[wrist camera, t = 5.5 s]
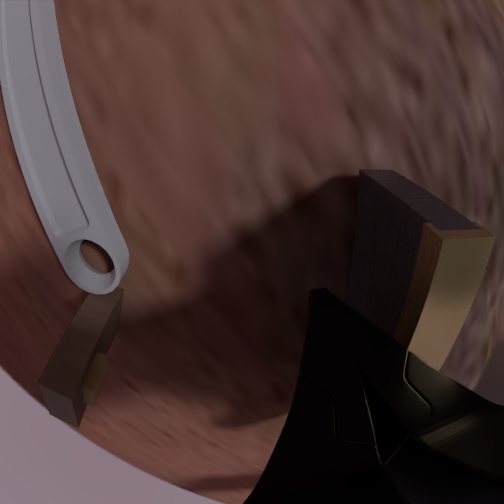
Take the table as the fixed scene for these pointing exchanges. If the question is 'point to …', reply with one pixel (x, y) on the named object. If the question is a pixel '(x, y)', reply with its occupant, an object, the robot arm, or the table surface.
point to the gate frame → (81, 358)
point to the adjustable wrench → (55, 144)
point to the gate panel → (414, 264)
